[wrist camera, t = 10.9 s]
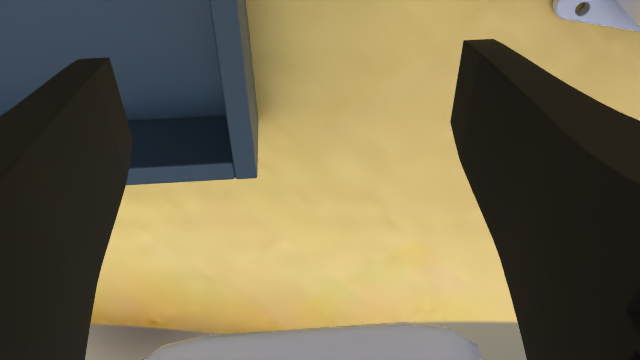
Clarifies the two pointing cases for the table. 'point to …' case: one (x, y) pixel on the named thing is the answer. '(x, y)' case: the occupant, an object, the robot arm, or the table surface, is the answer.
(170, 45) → the tub
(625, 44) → the table surface
